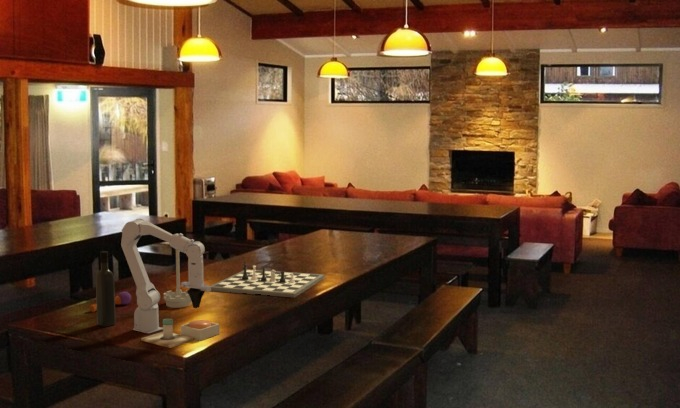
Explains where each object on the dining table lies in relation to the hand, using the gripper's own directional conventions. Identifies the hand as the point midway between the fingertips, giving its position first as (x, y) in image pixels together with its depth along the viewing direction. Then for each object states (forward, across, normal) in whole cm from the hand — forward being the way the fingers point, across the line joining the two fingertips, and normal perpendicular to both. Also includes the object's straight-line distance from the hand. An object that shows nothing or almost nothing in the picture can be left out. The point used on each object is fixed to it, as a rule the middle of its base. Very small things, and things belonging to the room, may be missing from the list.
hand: (196, 307), depth 288 cm
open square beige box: (+10, +4, -2) cm, 11 cm away
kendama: (+10, -58, +4) cm, 59 cm away
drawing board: (+10, -1, -14) cm, 17 cm away
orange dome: (+8, +4, -2) cm, 10 cm away
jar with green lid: (+9, -1, -14) cm, 17 cm away
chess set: (+11, -33, +80) cm, 88 cm away
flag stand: (+10, -38, +26) cm, 47 cm away
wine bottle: (+10, -37, -14) cm, 41 cm away
